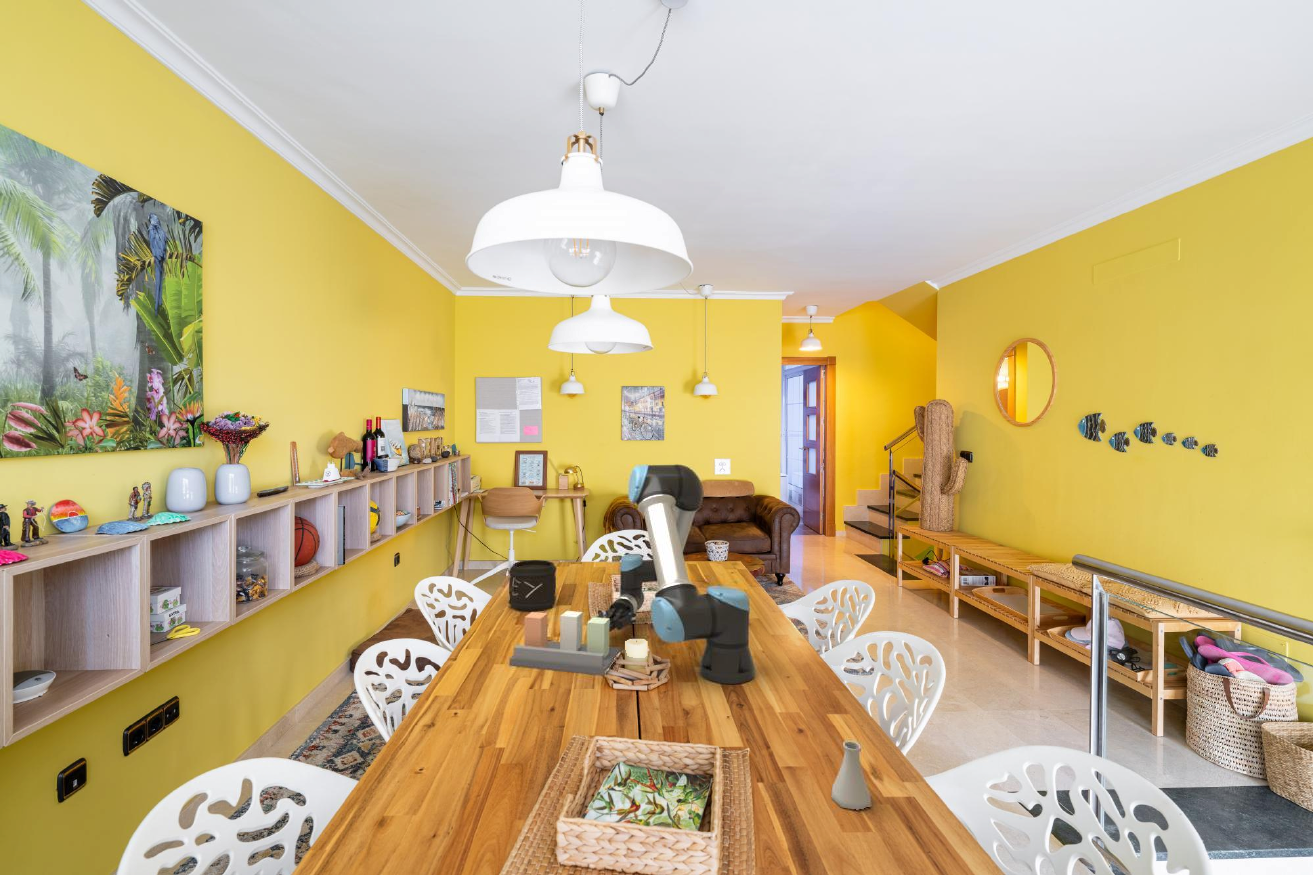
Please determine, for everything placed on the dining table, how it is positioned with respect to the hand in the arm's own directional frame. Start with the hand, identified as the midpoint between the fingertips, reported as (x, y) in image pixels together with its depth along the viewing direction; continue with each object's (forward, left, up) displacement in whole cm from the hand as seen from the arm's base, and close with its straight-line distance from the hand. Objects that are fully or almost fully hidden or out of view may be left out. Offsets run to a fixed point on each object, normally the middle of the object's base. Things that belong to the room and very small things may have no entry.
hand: (601, 632), depth 176 cm
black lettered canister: (+41, -45, -8) cm, 61 cm away
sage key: (0, +3, -6) cm, 6 cm away
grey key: (+9, -1, -6) cm, 11 cm away
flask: (-65, +52, -8) cm, 84 cm away
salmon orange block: (+19, +3, -6) cm, 20 cm away
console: (+9, +2, -8) cm, 13 cm away
